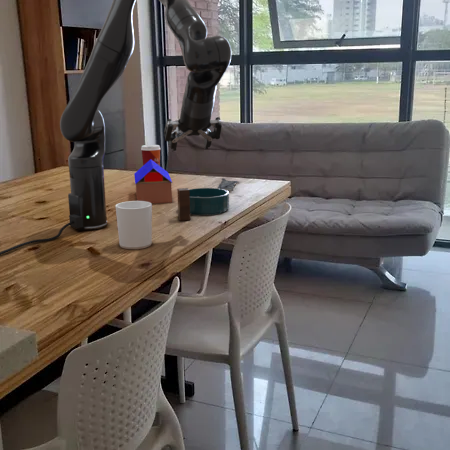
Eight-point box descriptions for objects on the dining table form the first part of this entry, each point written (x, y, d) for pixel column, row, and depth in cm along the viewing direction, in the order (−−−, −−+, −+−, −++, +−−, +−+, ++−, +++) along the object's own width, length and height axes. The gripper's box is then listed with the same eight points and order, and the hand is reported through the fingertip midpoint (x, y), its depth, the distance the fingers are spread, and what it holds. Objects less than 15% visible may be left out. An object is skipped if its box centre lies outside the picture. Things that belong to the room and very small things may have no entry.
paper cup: (160, 183, 227) (159, 146, 224) (140, 183, 227) (139, 147, 224) (163, 179, 235) (161, 144, 231) (143, 179, 235) (142, 144, 231)
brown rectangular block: (190, 220, 172) (189, 190, 170) (180, 221, 171) (179, 190, 169) (188, 217, 175) (187, 188, 173) (178, 218, 174) (177, 188, 172)
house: (136, 204, 193) (134, 168, 190) (135, 191, 212) (133, 159, 209) (173, 202, 195) (171, 167, 192) (168, 190, 214) (167, 158, 211)
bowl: (201, 218, 174) (201, 200, 173) (171, 209, 185) (171, 192, 184) (238, 210, 184) (238, 192, 182) (208, 202, 194) (208, 186, 193)
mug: (156, 248, 146) (154, 207, 143) (120, 251, 144) (117, 210, 141) (149, 236, 156) (147, 198, 154) (114, 239, 154) (112, 200, 151)
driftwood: (233, 193, 208) (233, 187, 208) (214, 192, 209) (214, 186, 209) (239, 182, 228) (239, 177, 228) (221, 182, 229) (221, 177, 228)
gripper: (223, 93, 146) (213, 135, 160) (166, 94, 143) (161, 137, 157) (229, 116, 143) (218, 157, 156) (170, 118, 139) (164, 160, 153)
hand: (189, 147), depth 156 cm, fingers open, 8 cm apart
